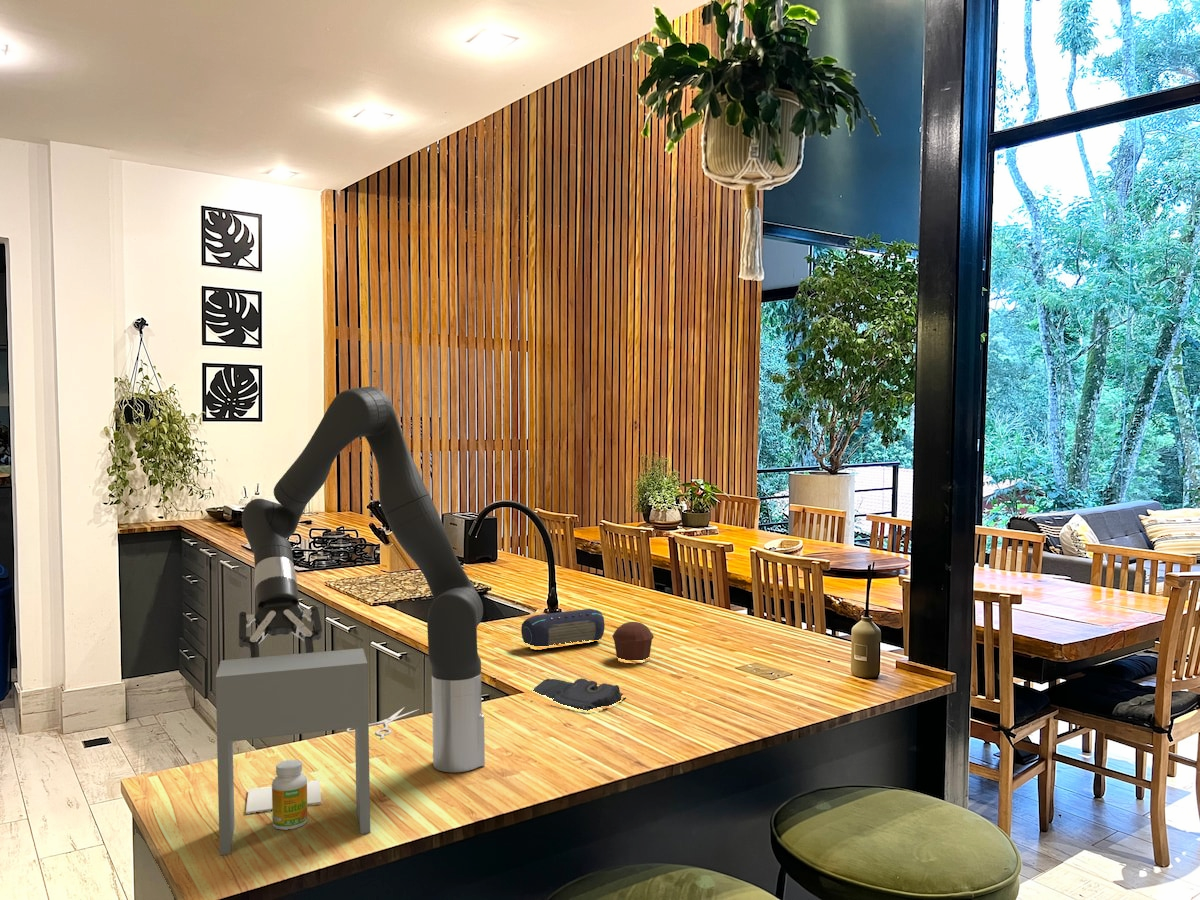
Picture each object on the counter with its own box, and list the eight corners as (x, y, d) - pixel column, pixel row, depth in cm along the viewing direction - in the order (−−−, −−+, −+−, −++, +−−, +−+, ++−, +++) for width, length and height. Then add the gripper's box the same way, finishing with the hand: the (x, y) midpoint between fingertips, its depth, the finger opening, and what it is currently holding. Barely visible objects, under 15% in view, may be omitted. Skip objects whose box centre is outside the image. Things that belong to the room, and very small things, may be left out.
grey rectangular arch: (365, 804, 153) (362, 646, 152) (370, 832, 142) (367, 663, 141) (225, 824, 146) (221, 658, 145) (219, 855, 135) (215, 676, 134)
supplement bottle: (283, 834, 142) (282, 773, 142) (266, 824, 146) (265, 764, 145) (314, 822, 146) (313, 763, 146) (296, 813, 150) (295, 755, 150)
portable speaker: (532, 655, 251) (532, 620, 250) (518, 648, 260) (517, 613, 259) (611, 644, 263) (610, 610, 263) (594, 637, 272) (594, 604, 271)
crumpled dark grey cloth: (557, 686, 223) (556, 666, 223) (632, 700, 211) (632, 680, 211) (517, 702, 211) (517, 681, 210) (595, 718, 198) (594, 697, 198)
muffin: (646, 667, 238) (646, 629, 238) (606, 663, 241) (606, 626, 241) (658, 655, 249) (658, 620, 249) (620, 653, 253) (619, 617, 252)
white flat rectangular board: (319, 782, 163) (319, 779, 163) (321, 804, 153) (321, 801, 153) (248, 791, 159) (248, 789, 159) (245, 814, 149) (245, 812, 149)
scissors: (339, 732, 188) (393, 703, 207) (339, 736, 188) (393, 706, 207) (382, 738, 185) (433, 708, 203) (382, 742, 185) (433, 711, 203)
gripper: (236, 577, 165) (240, 654, 155) (317, 572, 171) (326, 645, 161) (235, 601, 170) (239, 677, 160) (313, 595, 176) (322, 667, 166)
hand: (283, 661), depth 160 cm, fingers open, 8 cm apart
